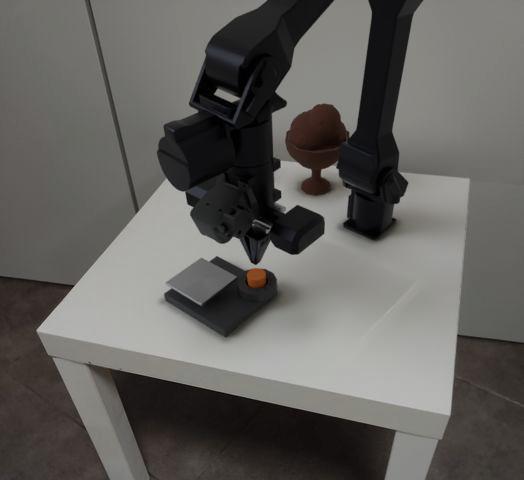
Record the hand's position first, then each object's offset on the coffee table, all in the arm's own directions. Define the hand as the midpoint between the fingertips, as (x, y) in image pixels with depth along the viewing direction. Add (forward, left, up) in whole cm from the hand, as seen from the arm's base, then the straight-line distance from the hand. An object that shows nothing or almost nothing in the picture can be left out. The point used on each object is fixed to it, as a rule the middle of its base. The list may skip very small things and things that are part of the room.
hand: (255, 262), depth 74 cm
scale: (+4, +4, -6) cm, 8 cm away
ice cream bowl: (+11, -28, -6) cm, 31 cm away
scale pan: (+6, +5, -3) cm, 8 cm away
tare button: (0, 0, -3) cm, 4 cm away
